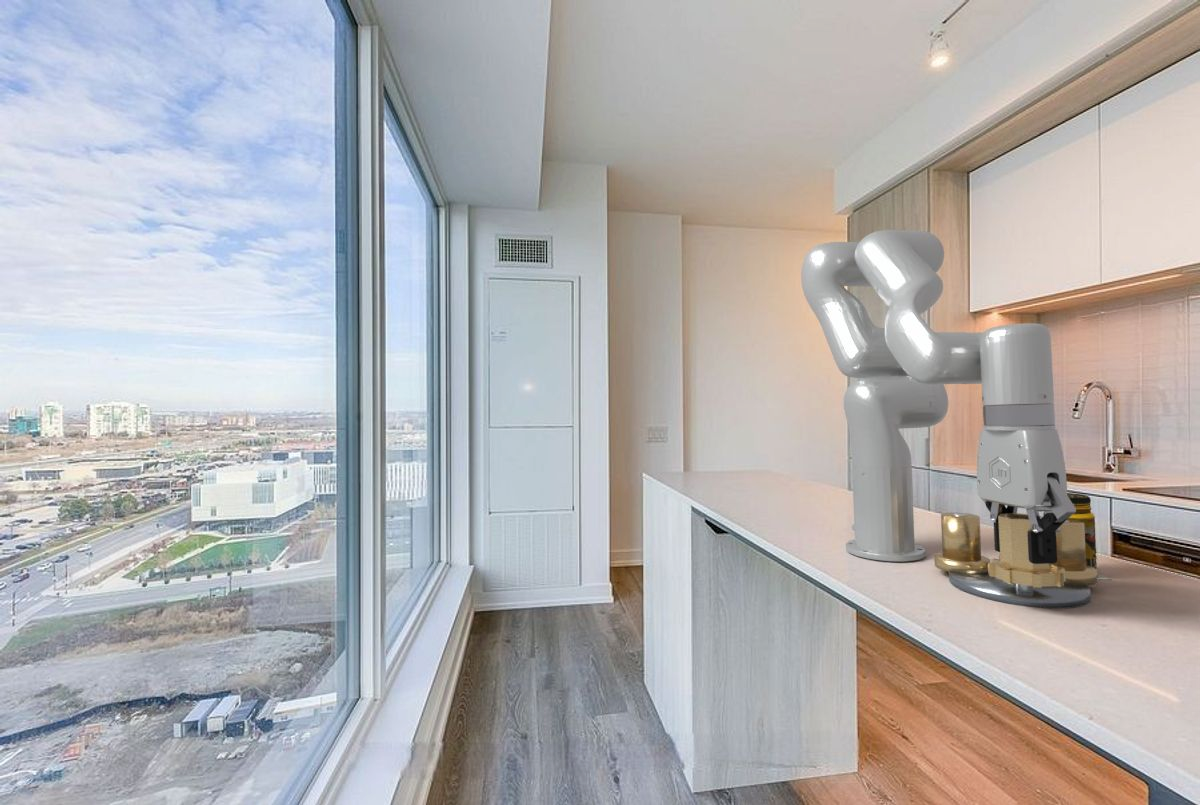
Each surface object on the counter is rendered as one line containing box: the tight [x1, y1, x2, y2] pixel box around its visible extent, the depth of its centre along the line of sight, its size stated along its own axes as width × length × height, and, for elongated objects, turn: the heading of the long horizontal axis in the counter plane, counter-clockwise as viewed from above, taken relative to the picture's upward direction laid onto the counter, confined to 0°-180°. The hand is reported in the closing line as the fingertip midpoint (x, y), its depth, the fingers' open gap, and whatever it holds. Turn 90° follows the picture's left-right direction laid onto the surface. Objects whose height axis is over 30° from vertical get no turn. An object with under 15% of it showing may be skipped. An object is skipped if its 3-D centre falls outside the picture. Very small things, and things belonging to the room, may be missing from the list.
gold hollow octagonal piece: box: [988, 512, 1066, 588], centre depth 72 cm, size 8×8×8 cm
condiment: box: [1042, 492, 1112, 581], centre depth 85 cm, size 7×8×12 cm
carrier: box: [933, 512, 1098, 609], centre depth 79 cm, size 18×19×9 cm
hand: (1024, 555), depth 72 cm, fingers closed on gold hollow octagonal piece, 5 cm apart
